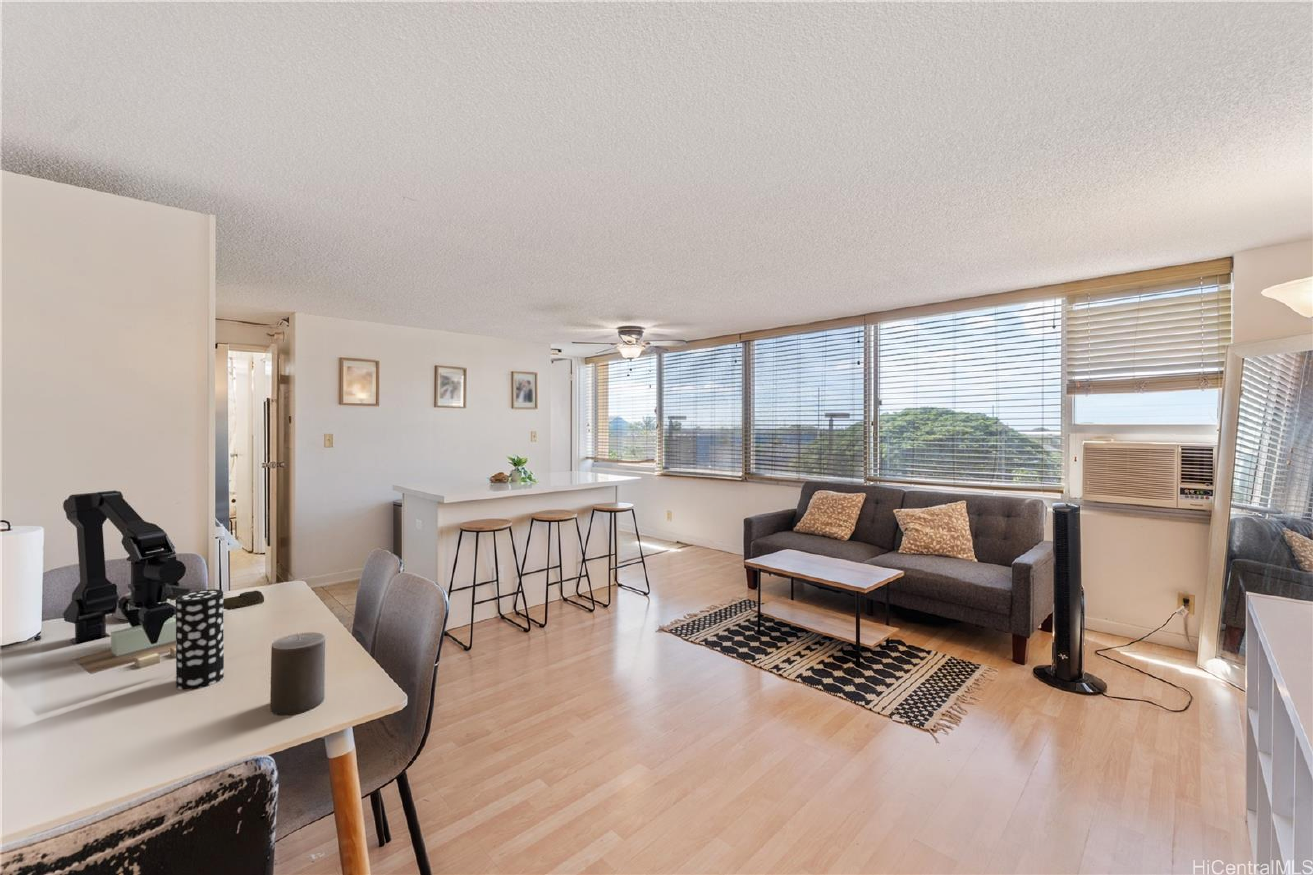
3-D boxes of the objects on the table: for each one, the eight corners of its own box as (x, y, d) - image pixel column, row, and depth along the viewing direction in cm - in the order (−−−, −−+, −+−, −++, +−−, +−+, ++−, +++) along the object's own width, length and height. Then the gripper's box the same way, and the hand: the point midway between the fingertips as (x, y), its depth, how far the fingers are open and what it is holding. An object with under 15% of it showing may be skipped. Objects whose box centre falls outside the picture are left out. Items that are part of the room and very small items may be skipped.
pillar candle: (283, 720, 108) (284, 647, 108) (261, 706, 113) (262, 635, 113) (334, 700, 116) (335, 632, 116) (311, 688, 122) (312, 622, 121)
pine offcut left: (134, 657, 128) (140, 660, 126) (154, 651, 131) (159, 655, 129) (134, 671, 128) (140, 675, 126) (154, 665, 131) (159, 669, 129)
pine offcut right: (170, 647, 134) (176, 650, 132) (187, 642, 137) (193, 645, 135) (170, 661, 134) (176, 664, 132) (188, 656, 137) (194, 659, 135)
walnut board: (72, 665, 130) (72, 659, 130) (195, 632, 151) (195, 627, 151) (91, 680, 123) (91, 673, 123) (218, 643, 144) (217, 638, 144)
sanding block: (111, 654, 133) (111, 632, 133) (173, 637, 144) (173, 617, 144) (116, 658, 131) (116, 635, 131) (179, 641, 142) (179, 620, 141)
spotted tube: (232, 676, 126) (231, 591, 126) (191, 692, 119) (191, 603, 118) (208, 670, 129) (207, 587, 128) (167, 686, 121) (166, 598, 121)
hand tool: (187, 618, 162) (186, 603, 162) (187, 615, 165) (187, 600, 165) (264, 605, 174) (264, 591, 174) (263, 602, 177) (263, 588, 177)
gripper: (201, 577, 139) (201, 636, 140) (172, 566, 149) (172, 622, 149) (144, 588, 130) (144, 652, 130) (117, 575, 139) (117, 635, 140)
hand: (147, 639), depth 138 cm, fingers open, 9 cm apart
